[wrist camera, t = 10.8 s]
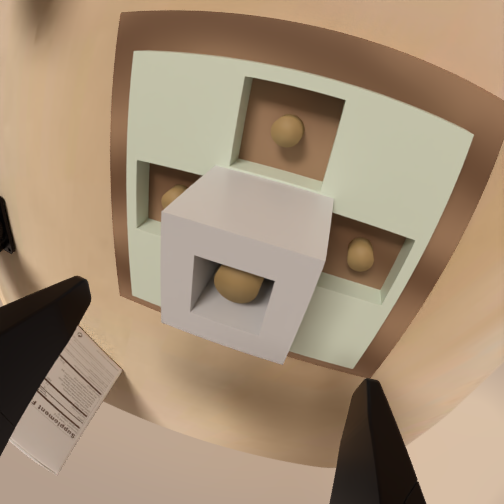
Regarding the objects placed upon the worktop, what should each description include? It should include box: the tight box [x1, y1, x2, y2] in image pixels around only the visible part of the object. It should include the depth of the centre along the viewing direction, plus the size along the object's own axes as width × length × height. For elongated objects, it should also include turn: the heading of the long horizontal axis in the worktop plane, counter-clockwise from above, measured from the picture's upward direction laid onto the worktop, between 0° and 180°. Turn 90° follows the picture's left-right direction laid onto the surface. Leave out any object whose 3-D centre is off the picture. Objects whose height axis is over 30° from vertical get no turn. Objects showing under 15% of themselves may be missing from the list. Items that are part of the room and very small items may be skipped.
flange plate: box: [126, 50, 474, 369], centre depth 13 cm, size 14×14×6 cm
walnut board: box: [110, 10, 504, 378], centre depth 14 cm, size 18×18×7 cm
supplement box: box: [9, 325, 123, 475], centre depth 27 cm, size 9×9×15 cm
